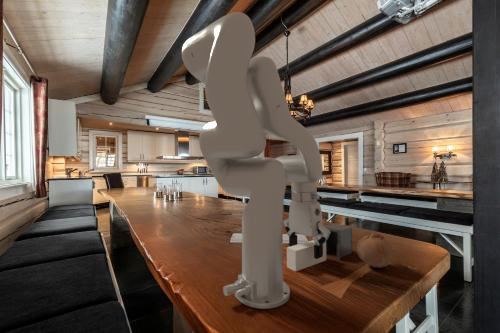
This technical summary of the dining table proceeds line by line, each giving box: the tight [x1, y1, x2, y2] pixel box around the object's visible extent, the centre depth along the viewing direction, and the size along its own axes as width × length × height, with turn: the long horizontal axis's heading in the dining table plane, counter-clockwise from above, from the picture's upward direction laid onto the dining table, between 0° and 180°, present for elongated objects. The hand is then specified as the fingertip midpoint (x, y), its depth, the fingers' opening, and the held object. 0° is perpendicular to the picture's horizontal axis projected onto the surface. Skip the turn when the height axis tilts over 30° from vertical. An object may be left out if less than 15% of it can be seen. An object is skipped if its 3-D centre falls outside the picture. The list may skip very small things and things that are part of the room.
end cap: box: [317, 223, 353, 261], centre depth 79 cm, size 10×9×9 cm
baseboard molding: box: [229, 232, 309, 245], centre depth 94 cm, size 31×3×12 cm
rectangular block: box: [286, 239, 327, 272], centre depth 70 cm, size 14×4×6 cm, turn 126°
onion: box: [356, 232, 394, 269], centre depth 67 cm, size 10×9×10 cm
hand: (305, 252), depth 70 cm, fingers open, 9 cm apart
